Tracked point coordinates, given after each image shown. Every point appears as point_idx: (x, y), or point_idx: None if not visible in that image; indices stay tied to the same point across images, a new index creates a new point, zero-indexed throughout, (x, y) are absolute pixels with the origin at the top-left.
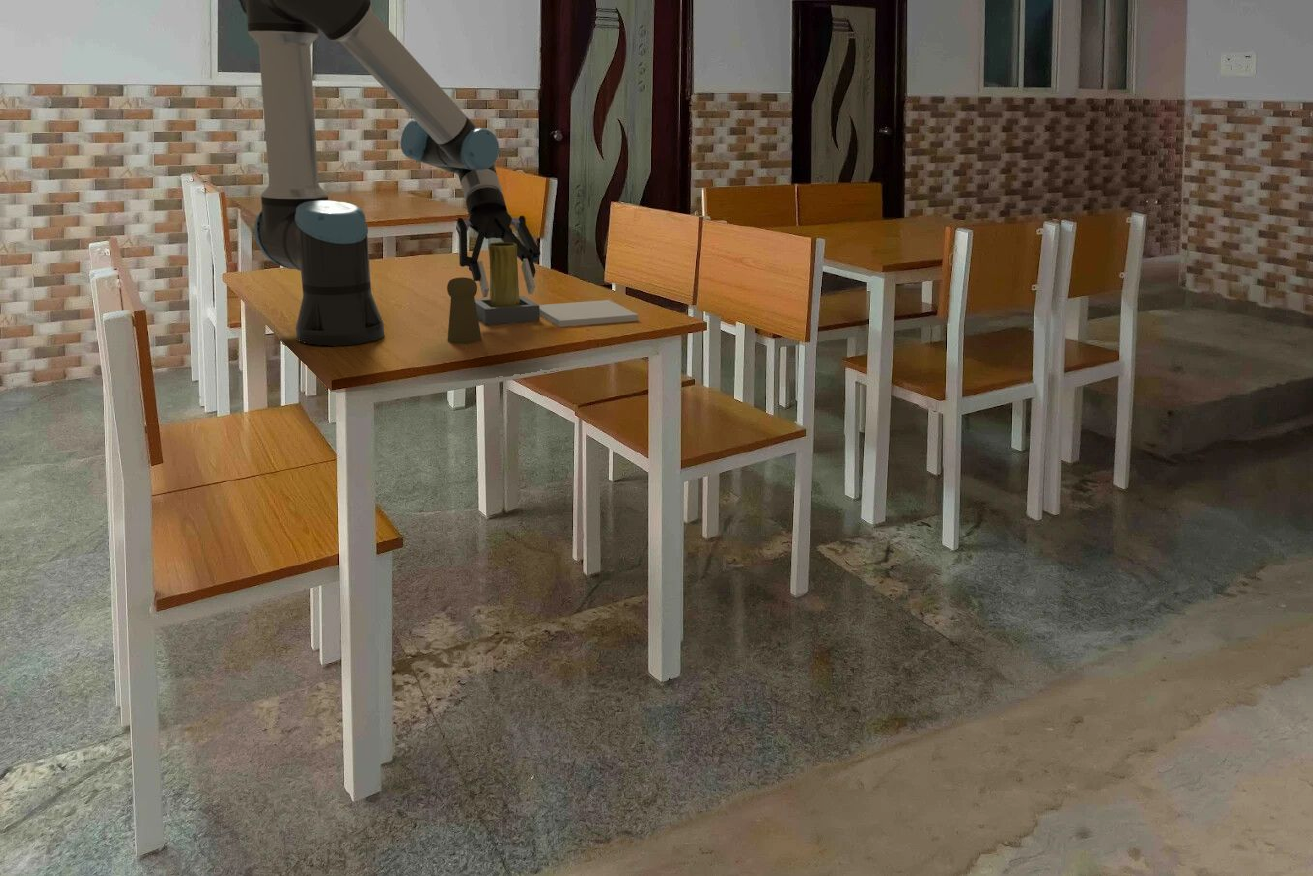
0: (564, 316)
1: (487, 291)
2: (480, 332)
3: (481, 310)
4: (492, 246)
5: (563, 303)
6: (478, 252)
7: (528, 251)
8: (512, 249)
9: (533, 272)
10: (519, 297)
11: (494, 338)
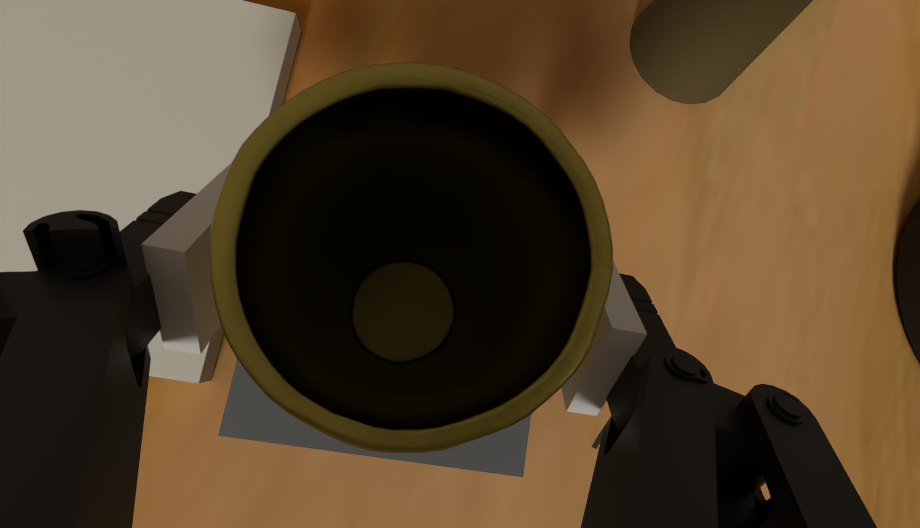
0: (223, 71)
1: None
2: (647, 13)
3: None
4: (597, 198)
5: None
6: (652, 423)
7: (31, 304)
8: (361, 103)
9: (189, 196)
10: (264, 400)
11: (591, 13)
